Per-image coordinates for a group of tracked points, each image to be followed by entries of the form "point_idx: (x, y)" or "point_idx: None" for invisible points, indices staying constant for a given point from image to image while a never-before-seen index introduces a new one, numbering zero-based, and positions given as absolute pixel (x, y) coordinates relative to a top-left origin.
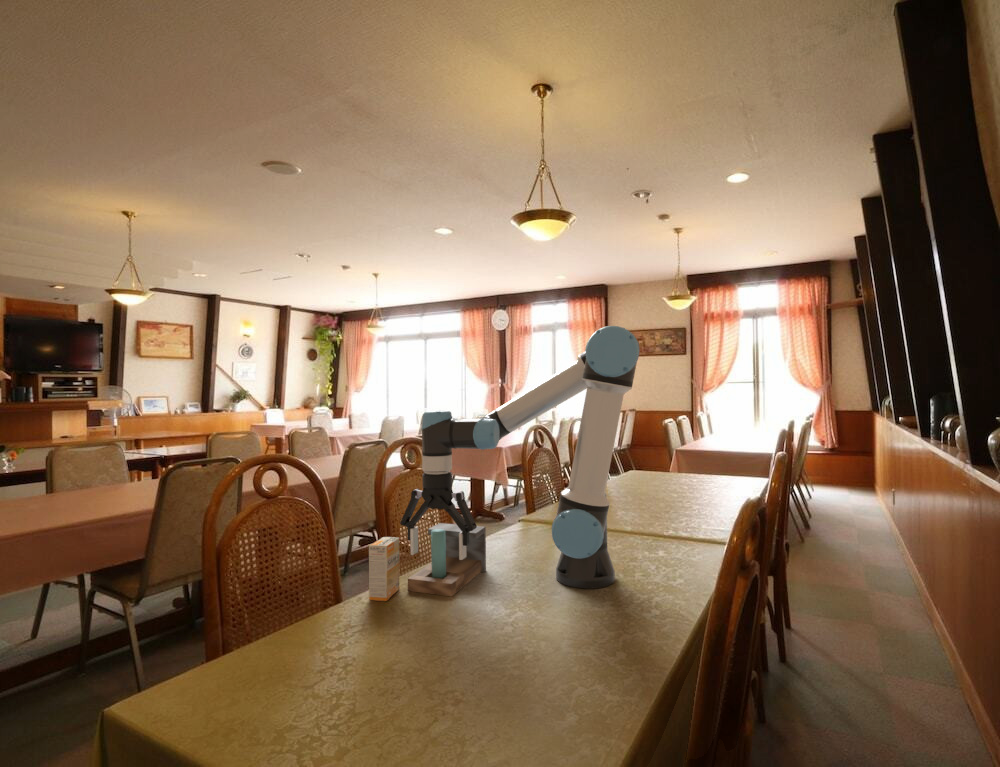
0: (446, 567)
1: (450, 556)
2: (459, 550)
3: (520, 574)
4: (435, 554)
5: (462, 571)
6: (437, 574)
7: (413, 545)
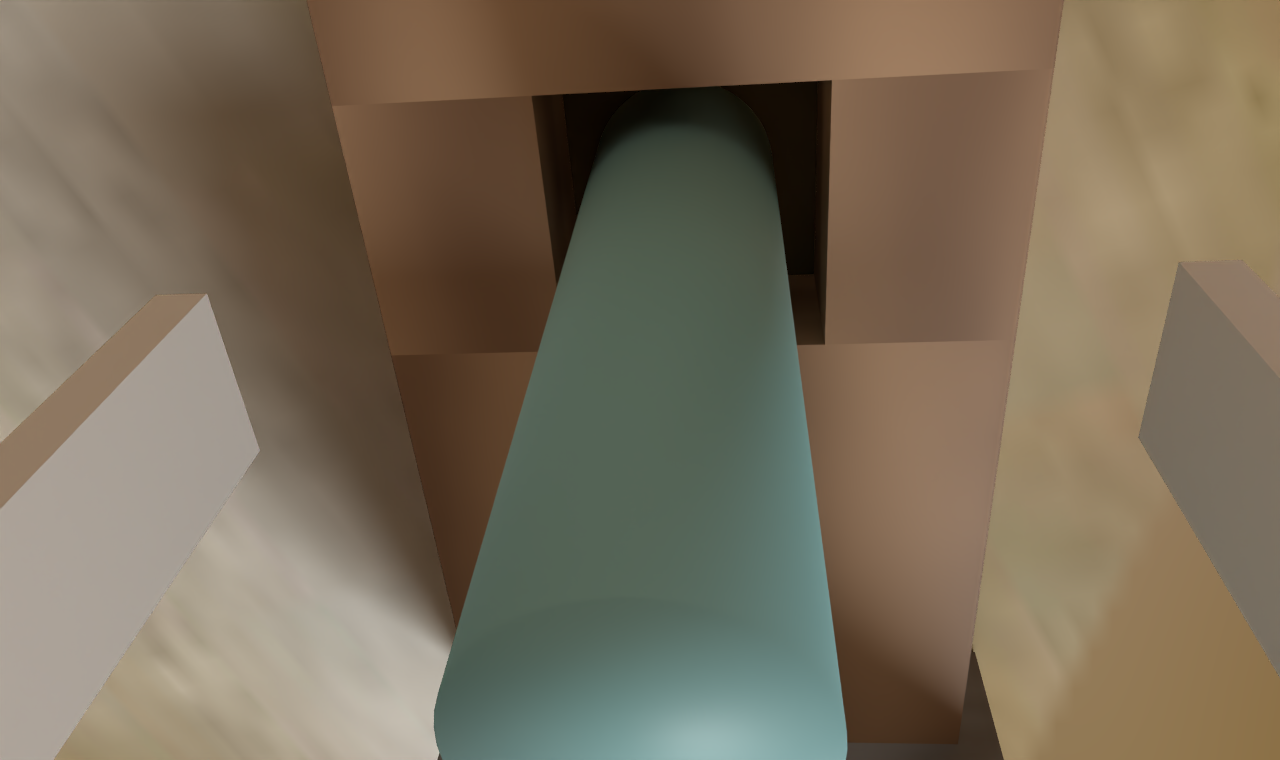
0: None
1: None
2: (118, 382)
3: (154, 669)
4: (655, 281)
5: (459, 417)
6: (645, 149)
7: (1255, 375)
